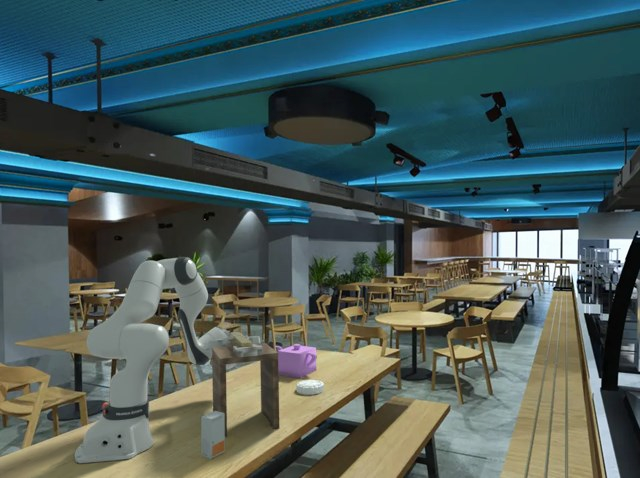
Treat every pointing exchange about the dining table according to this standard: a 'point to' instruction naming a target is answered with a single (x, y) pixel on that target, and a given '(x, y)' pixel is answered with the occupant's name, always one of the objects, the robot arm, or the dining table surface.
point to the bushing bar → (240, 340)
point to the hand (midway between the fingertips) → (237, 337)
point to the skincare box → (212, 434)
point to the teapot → (296, 360)
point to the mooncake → (310, 387)
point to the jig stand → (268, 377)
